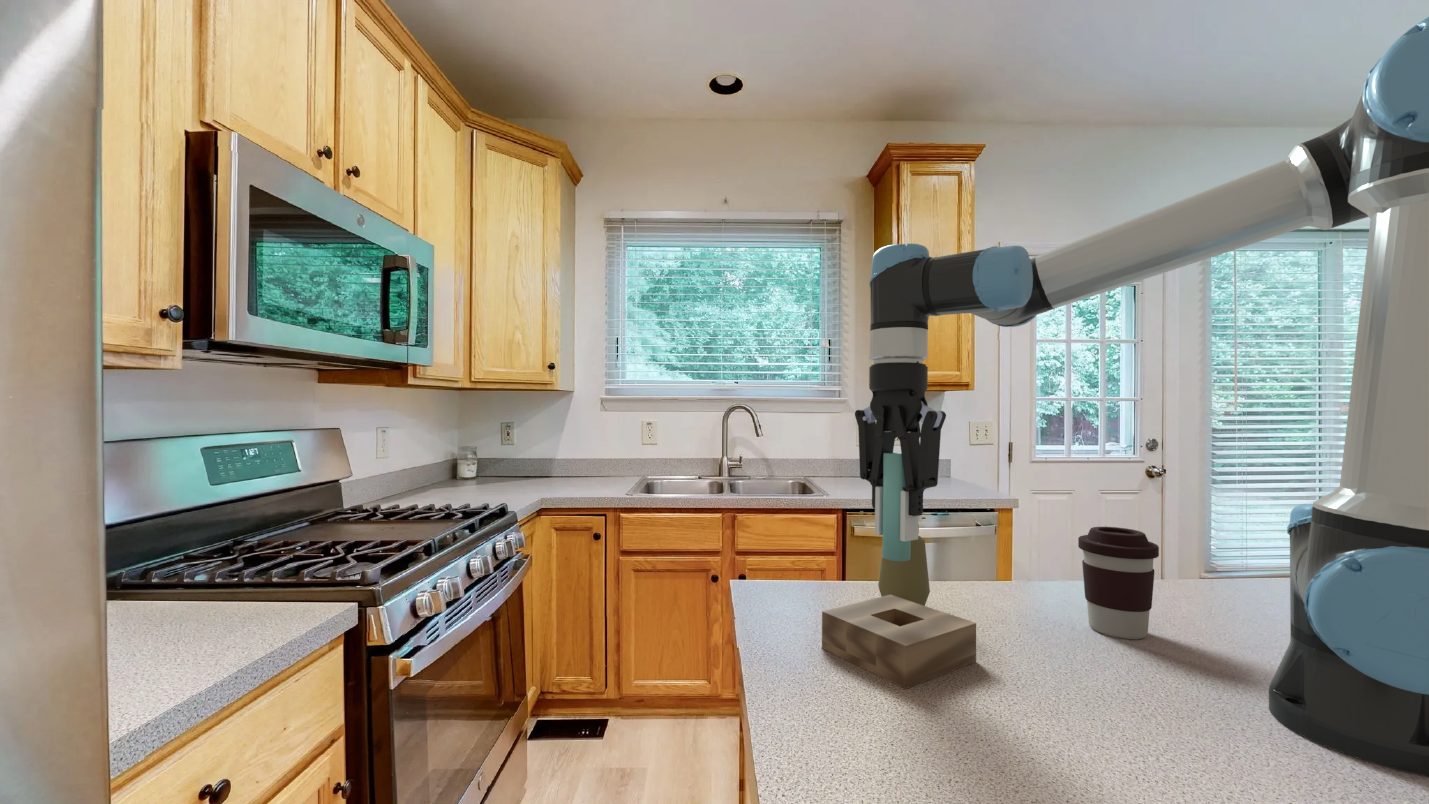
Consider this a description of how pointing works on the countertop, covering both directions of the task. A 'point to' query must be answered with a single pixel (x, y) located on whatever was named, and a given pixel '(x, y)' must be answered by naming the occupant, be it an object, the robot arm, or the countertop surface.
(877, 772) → the countertop surface
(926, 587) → the squeeze bottle
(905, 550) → the pin
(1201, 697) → the countertop surface
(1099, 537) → the coffee cup
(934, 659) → the bore block
